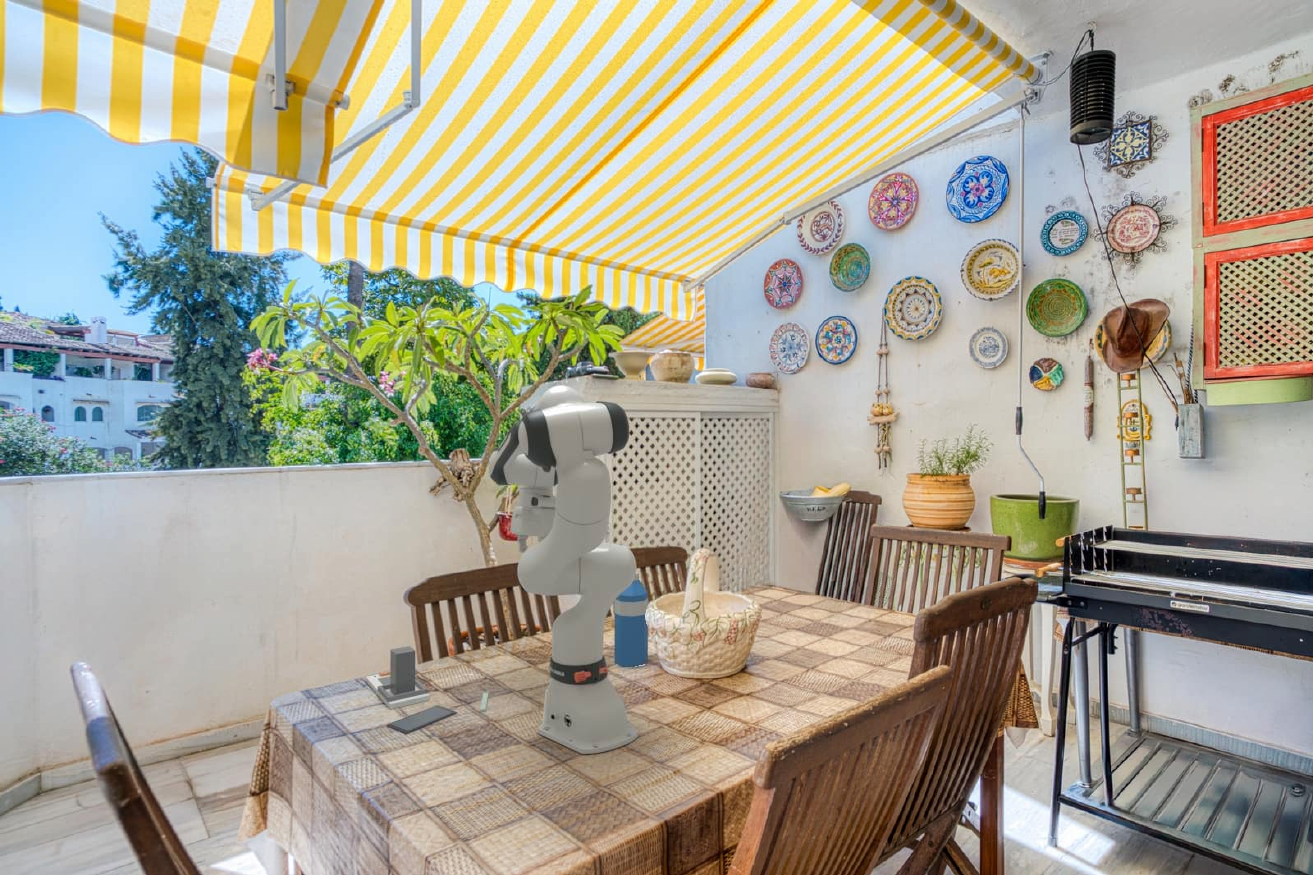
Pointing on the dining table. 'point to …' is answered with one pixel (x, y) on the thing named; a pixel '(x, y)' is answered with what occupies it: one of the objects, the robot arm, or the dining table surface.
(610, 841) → the dining table surface
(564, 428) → the robot arm
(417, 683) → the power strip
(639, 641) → the water bottle
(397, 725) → the phone
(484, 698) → the pale green stick
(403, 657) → the grey rectangular block
